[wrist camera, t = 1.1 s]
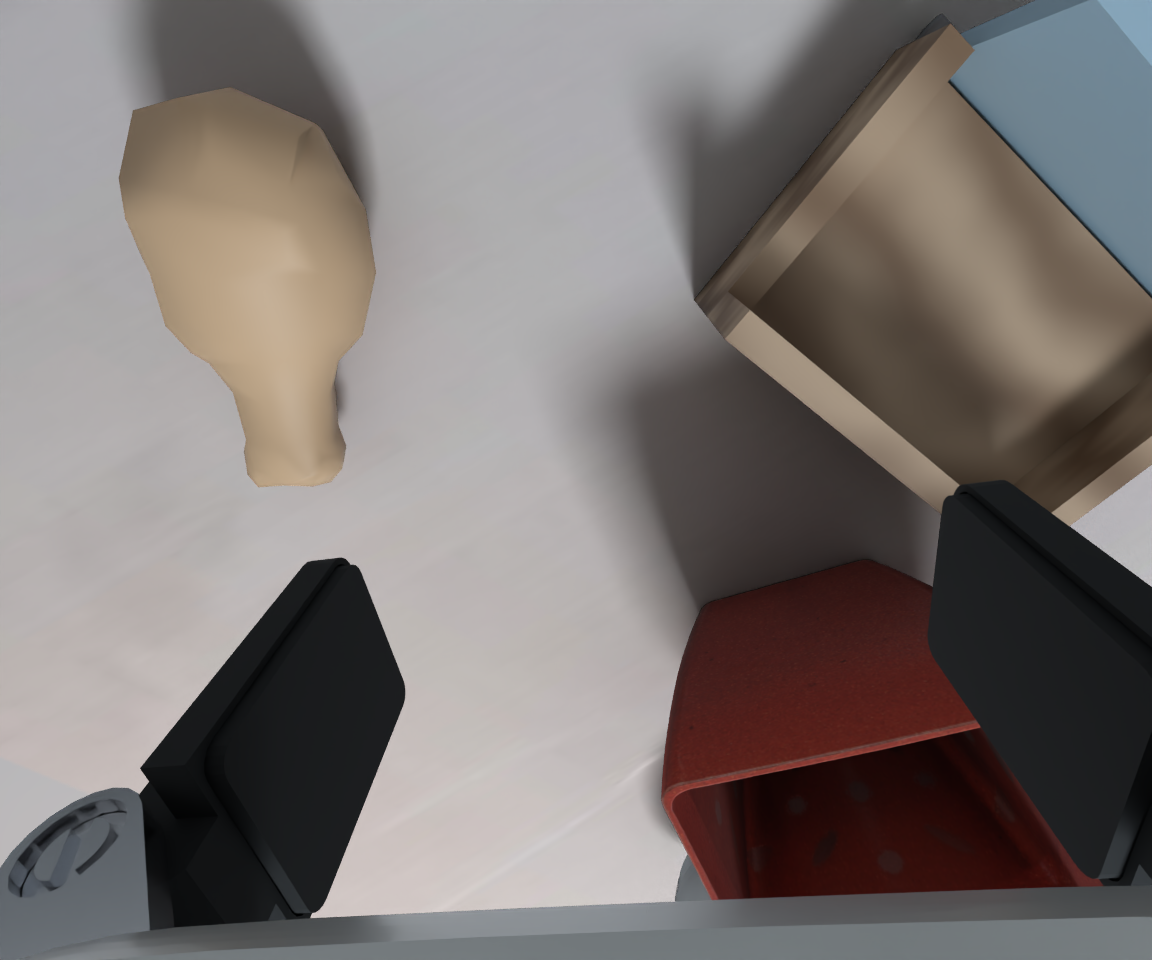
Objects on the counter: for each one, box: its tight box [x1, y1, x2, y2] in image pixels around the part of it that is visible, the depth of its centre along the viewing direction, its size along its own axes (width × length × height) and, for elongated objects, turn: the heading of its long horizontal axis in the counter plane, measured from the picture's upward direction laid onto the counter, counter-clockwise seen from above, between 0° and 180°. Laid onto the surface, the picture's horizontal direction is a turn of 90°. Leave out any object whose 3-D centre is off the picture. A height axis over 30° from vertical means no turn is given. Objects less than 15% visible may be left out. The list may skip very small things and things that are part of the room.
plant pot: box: [661, 560, 1103, 900], centre depth 37 cm, size 19×19×17 cm
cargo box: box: [694, 14, 1152, 526], centre depth 29 cm, size 16×24×10 cm
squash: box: [119, 87, 376, 487], centre depth 31 cm, size 11×20×9 cm, turn 177°
